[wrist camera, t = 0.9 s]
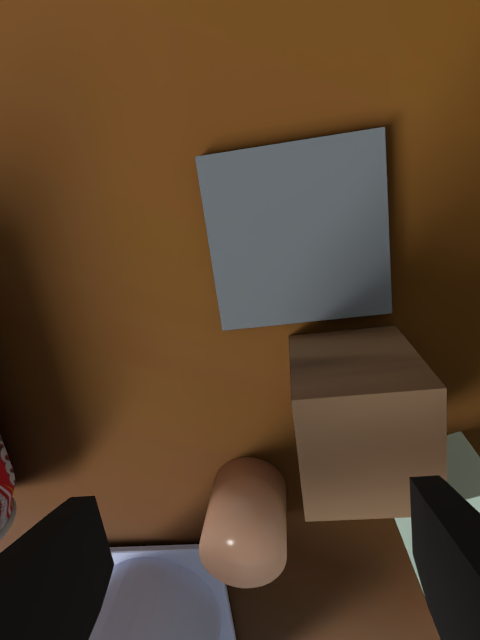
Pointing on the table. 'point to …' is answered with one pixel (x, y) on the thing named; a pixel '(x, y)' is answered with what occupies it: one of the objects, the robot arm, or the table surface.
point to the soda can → (6, 491)
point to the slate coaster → (299, 229)
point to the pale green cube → (452, 482)
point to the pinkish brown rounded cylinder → (245, 524)
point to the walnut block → (364, 422)
